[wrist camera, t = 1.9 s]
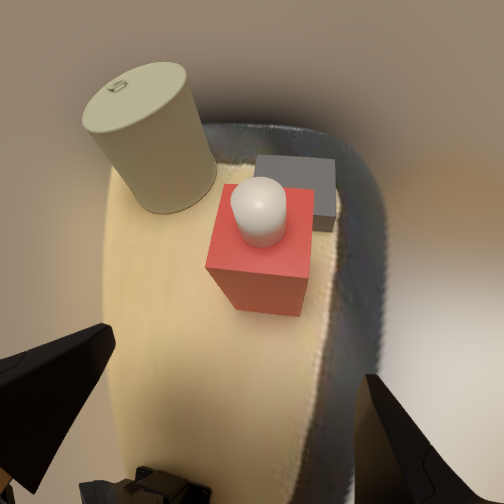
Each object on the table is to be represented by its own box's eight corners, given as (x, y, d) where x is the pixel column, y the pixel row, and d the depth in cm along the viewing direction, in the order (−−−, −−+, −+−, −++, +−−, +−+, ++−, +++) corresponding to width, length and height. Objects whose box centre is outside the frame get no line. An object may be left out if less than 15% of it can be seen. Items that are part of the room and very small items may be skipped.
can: (178, 135, 32) (144, 52, 21) (235, 165, 29) (210, 65, 18) (120, 188, 29) (64, 113, 19) (171, 231, 26) (109, 143, 16)
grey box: (331, 233, 25) (335, 216, 22) (252, 228, 26) (247, 210, 23) (331, 179, 27) (334, 159, 24) (260, 174, 28) (257, 154, 26)
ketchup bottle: (299, 316, 22) (312, 257, 11) (236, 309, 23) (189, 245, 12) (305, 257, 24) (317, 159, 13) (245, 251, 25) (215, 154, 14)
